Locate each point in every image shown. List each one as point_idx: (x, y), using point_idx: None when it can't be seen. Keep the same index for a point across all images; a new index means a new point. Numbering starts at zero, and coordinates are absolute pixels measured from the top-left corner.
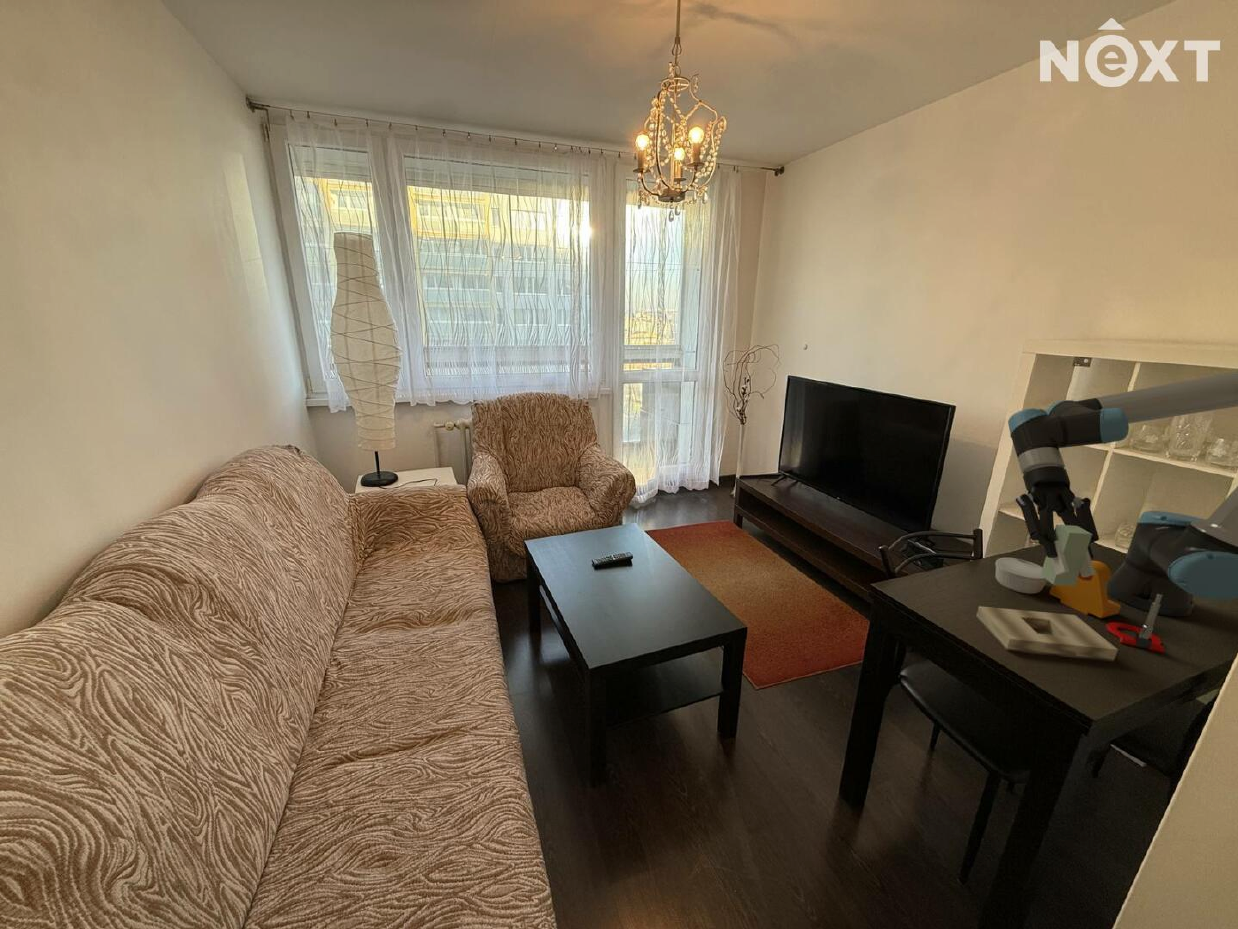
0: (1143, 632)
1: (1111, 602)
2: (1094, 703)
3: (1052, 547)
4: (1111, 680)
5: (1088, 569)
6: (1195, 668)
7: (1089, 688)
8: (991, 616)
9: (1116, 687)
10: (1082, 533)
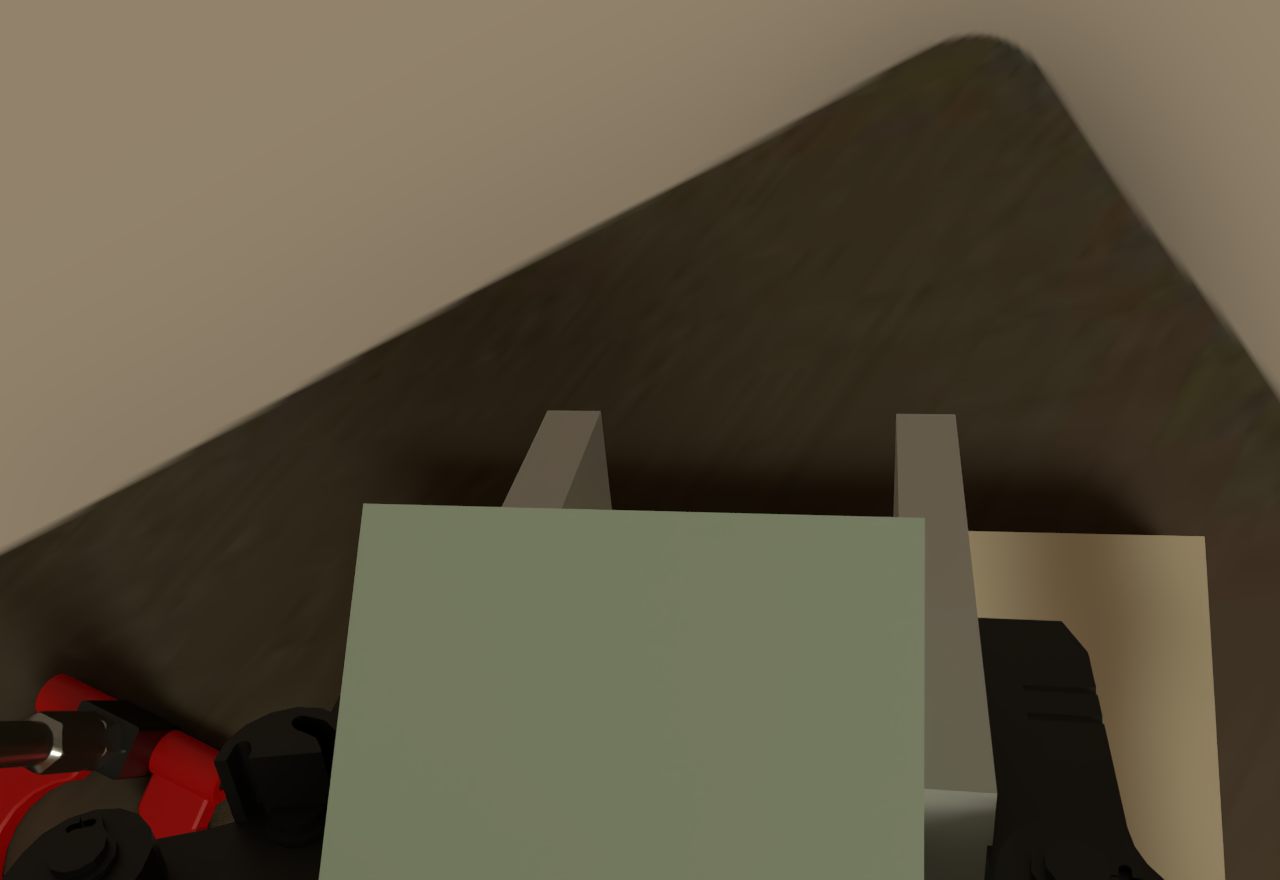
0: (93, 732)
1: None
2: (895, 123)
3: (1039, 742)
4: (634, 346)
5: (587, 477)
6: (24, 549)
7: (830, 247)
8: (1197, 875)
9: (654, 286)
10: (586, 518)
